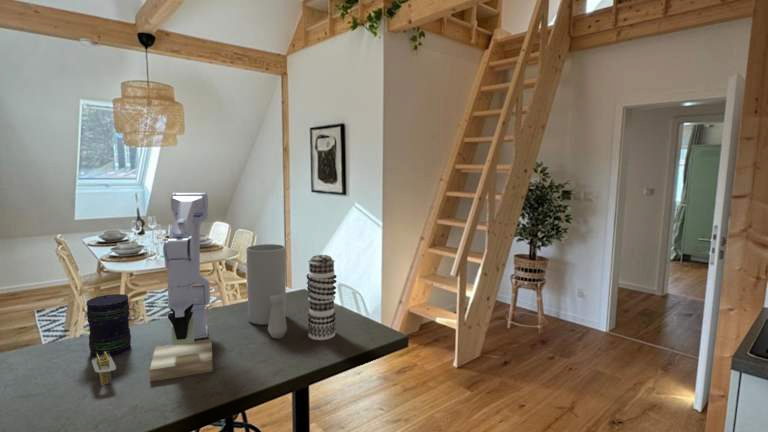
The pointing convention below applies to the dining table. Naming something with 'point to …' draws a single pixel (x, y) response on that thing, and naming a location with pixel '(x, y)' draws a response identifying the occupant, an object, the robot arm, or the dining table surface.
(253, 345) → the dining table surface
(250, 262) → the cylinder vase
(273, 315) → the salt shaker
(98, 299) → the storage jar
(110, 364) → the platform
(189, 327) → the green cube
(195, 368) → the birch base
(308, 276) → the black white patterned cylinder
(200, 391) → the dining table surface
